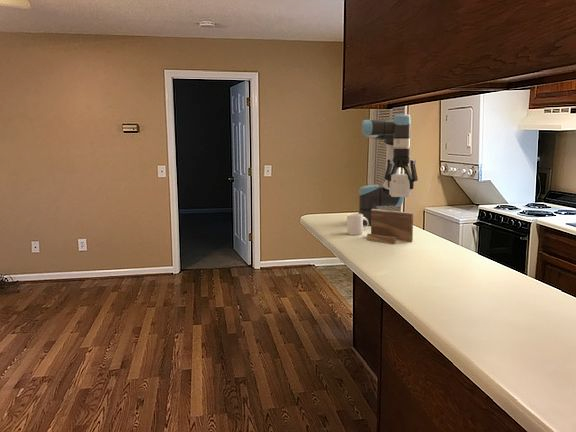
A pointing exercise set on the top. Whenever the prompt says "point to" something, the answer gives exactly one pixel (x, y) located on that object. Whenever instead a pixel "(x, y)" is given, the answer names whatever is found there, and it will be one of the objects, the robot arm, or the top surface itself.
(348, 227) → the mug
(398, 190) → the small box
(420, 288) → the top surface
